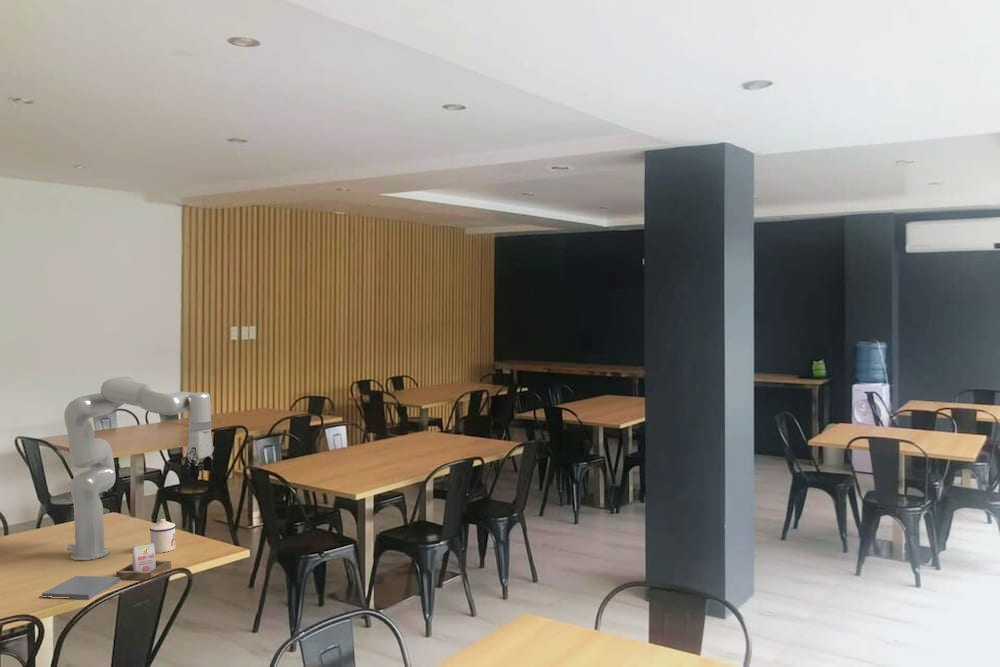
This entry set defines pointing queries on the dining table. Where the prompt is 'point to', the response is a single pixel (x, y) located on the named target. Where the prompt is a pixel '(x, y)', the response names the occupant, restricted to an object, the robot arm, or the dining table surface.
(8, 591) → the dining table surface
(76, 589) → the grey tile
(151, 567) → the white red printed box
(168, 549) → the teacup with lid
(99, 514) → the robot arm
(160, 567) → the tray
